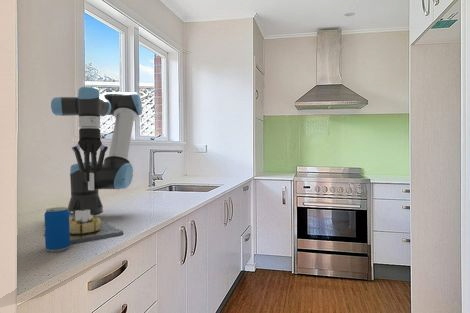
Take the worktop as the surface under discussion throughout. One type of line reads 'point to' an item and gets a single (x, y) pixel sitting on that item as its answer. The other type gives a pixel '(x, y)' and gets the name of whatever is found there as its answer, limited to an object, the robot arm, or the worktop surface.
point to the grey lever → (85, 227)
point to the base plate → (99, 234)
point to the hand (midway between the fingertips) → (91, 189)
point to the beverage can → (57, 229)
